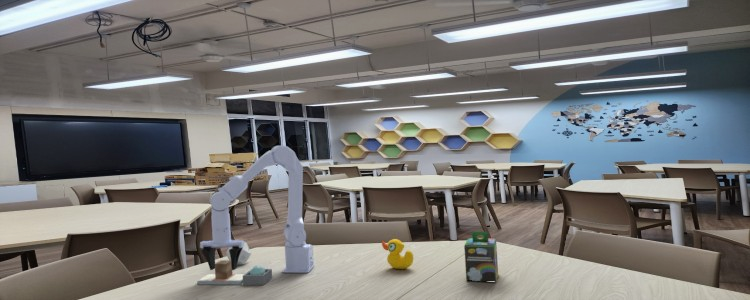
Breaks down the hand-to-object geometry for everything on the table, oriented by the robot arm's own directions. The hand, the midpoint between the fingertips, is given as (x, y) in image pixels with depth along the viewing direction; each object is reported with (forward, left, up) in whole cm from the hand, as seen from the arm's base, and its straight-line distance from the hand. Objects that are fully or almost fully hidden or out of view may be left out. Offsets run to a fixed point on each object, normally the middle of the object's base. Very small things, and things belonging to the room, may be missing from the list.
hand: (223, 269), depth 145 cm
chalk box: (-84, -3, -4) cm, 84 cm away
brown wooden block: (0, 0, -3) cm, 3 cm away
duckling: (-57, -13, -4) cm, 59 cm away
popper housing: (-12, 0, -4) cm, 13 cm away
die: (+4, -20, -4) cm, 21 cm away
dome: (-12, 0, -3) cm, 12 cm away
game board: (0, 0, -4) cm, 4 cm away
